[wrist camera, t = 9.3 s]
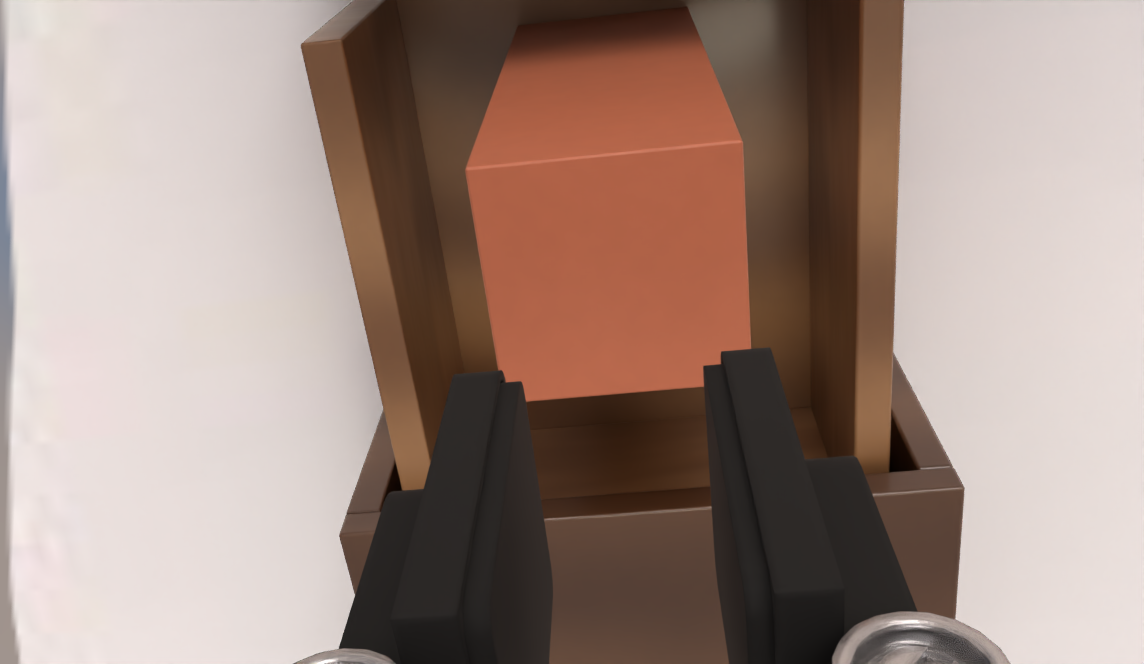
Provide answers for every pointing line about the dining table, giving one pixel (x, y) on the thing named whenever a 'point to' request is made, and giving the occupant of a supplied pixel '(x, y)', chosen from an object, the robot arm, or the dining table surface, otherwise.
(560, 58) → the block
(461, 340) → the drawer
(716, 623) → the cabinet
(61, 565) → the dining table surface
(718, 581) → the robot arm
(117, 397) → the dining table surface
